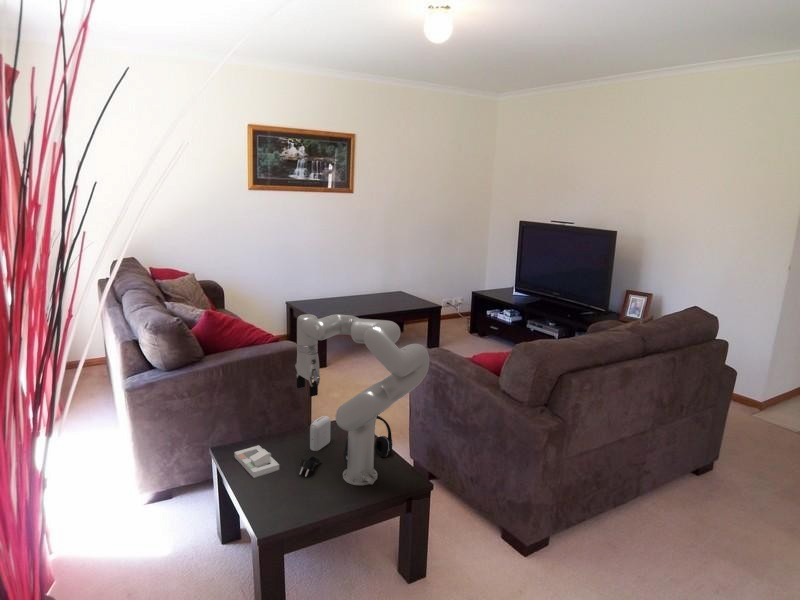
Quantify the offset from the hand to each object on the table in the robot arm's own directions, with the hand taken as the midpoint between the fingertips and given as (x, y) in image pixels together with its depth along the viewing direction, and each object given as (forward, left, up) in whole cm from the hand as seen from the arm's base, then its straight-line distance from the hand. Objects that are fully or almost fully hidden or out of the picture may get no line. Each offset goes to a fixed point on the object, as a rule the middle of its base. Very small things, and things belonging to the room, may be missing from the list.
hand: (307, 391), depth 203 cm
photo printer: (+7, -10, -28) cm, 31 cm away
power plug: (-6, -2, -31) cm, 31 cm away
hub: (+8, +17, -28) cm, 34 cm away
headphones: (-13, -20, -29) cm, 37 cm away
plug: (+4, +20, -25) cm, 33 cm away
